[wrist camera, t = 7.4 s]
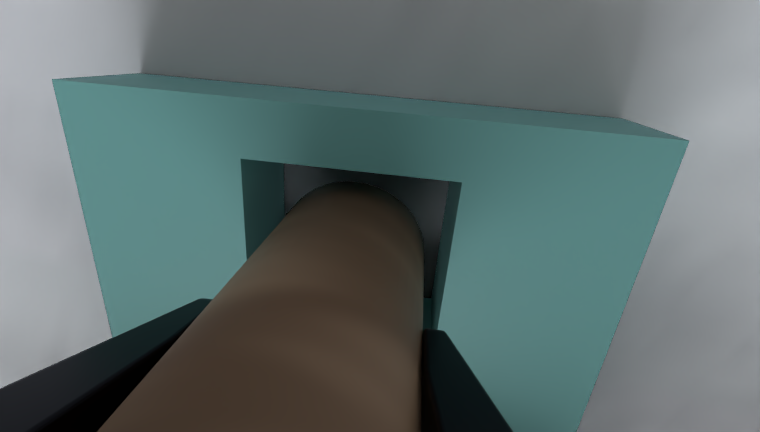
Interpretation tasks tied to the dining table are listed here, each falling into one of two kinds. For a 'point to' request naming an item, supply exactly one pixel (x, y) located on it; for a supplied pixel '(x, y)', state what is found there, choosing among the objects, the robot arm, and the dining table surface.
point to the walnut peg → (303, 330)
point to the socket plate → (393, 157)
